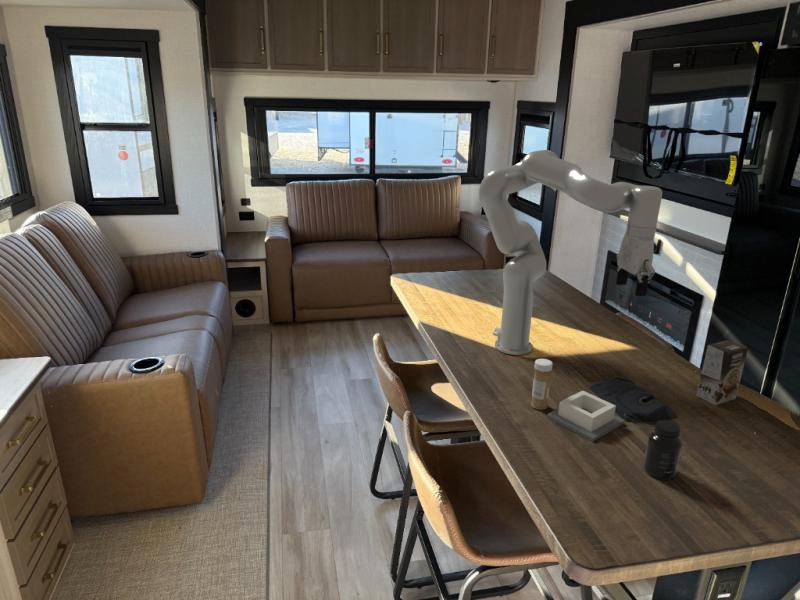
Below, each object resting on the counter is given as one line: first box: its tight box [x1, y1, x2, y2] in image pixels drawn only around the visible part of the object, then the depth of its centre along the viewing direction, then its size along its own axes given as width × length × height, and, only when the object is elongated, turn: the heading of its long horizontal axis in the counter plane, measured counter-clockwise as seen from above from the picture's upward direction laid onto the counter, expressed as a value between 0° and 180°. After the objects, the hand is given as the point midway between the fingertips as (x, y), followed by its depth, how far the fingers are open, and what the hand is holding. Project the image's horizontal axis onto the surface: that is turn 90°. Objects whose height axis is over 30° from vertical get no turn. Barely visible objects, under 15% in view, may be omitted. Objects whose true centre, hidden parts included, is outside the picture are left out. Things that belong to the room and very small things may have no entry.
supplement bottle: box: [643, 420, 683, 481], centre depth 127 cm, size 7×7×12 cm
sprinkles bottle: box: [530, 358, 554, 411], centre depth 153 cm, size 5×5×13 cm
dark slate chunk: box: [589, 376, 677, 425], centre depth 158 cm, size 15×22×5 cm
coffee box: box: [696, 339, 749, 406], centre depth 160 cm, size 9×6×16 cm
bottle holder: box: [546, 390, 626, 443], centre depth 148 cm, size 14×14×5 cm
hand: (630, 290), depth 164 cm, fingers open, 9 cm apart
